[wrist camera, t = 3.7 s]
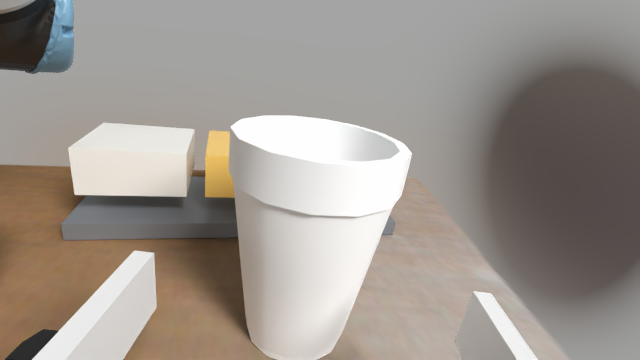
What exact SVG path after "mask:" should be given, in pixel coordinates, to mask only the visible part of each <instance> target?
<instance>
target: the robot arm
mask: <svg viewBox="0 0 640 360" xmlns="http://www.w3.org/2000/svg"><path fill="white" fill-rule="evenodd" d="M73 21H74V12H73V0H0V69H6V70H19V71H25V72H27V73H32V74H34V73H37V72H56V73H59V72H64V71H66V70H68V69H69V68H70V67H71V65H72V62H73V55H74V32H73ZM156 307H157V305H156V284H155V262H154V253H151V252H142V251H134V252H133V253H132V254H131V255H130V256H129V257H128V258H127V259H126V260H125V261H124V262H123V263H122V264H121V265H120V266H119V268H118V269H117V270H116V271H115V272H114V273H113V274H112V275H111V276H110V277H109V278H108V279H107V280H106V281H105V282H104V284H103V285H102V286H101V287H100V288H99V289H98V290H97V291H96V292H95V293H94V294H93V295H92V296H91V297H90V298H89V299H88V301H87V302H86V303H85V304H84V305H83V306H82V307H81V308H80V309H79V310H78V311H77V312H76V313H75V314H74V315H73V317H72V318H71V319H70V320H69V321H68V322H67V323H66V324H65V325H64V326H63V327H62V328H61V329H60V330H59V331H55V330H46V329H43V330H41V331H40V332H38V333H37V334H35V335H33V336H32V337H30V338H28V339H27V340H25V341H24V342H22V343H21V344H20V345H19V346H18V347H17V348H16V349H15V350H14V351H13V352H12V353H11V354H10V355H9V356H8V357H7V358H6V359H5V360H123V359H124V357H125V356H126V354H127V352H128V351H129V349H130V348H131V346H132V345H133V343H134V342H135V340H136V338H137V337H138V335H139V334H140V332H141V331H142V329H143V328H144V326H145V325H146V323H147V321H148V320H149V318H150V317H151V315H152V314H153V312H154V311H155V309H156ZM454 341H455V343H456V346H457V348H458V350H459V352H460V354H461V356H462V359H463V360H538V359H537V358H536V357H535V355H534V354H533V352H532V351H531V349H530V348H529V347H528V345H527V344H526V342H525V341H524V339H523V338H522V337H521V335H520V334H519V332H518V331H517V330H516V328H515V327H514V325H513V324H512V322H511V321H510V320H509V318H508V317H507V315H506V314H505V313H504V311H503V310H502V308H501V307H500V305H499V304H498V303H497V301H496V300H495V298H494V297H493V296H492V294H491V293H483V292H475V291H473V293H472V296H471V299H470V301H469V304H468V306H467V309H466V312H465V314H464V317H463V319H462V322H461V324H460V327H459V330H458V332H457V335H456V337H455V340H454Z"/></svg>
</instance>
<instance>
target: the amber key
mask: <svg viewBox="0 0 640 360" xmlns="http://www.w3.org/2000/svg"><path fill="white" fill-rule="evenodd" d="M229 144H230V132H224V131H211V130H210V131H209V137H208V144H207V150H206V165H205V197H229V198H235V196H234V185H233V179H232V177H231V175H230V173H229V171H228V166H229Z"/></svg>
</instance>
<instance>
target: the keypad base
mask: <svg viewBox="0 0 640 360" xmlns="http://www.w3.org/2000/svg"><path fill="white" fill-rule="evenodd" d="M394 226H395V221H394V220H393V219H392V218H391V217H390V216H389V218H388V220H387V223H386V225H385V228H384V230H383V233H382V235H392V234H393V230H394ZM61 227H62V233H63V240H108V239H165V238H223V237H238V229H237V218H236V207H235V198H229V197H205V177H193V176H191V181H190V185H189V189H188V193H187V197H169V196H109V195H86V196H85V197H84V198H83V200H82V201H81V202H80V203H79V204H78V205H77V206H76V208H75V209H74V210H73V211H72V212H71V213H70V214H69V216H68V217H67V218H66V219H65V220H64V221H63V222H62V224H61Z"/></svg>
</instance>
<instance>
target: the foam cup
mask: <svg viewBox="0 0 640 360" xmlns="http://www.w3.org/2000/svg"><path fill="white" fill-rule="evenodd" d="M411 156H412V153H411V152H410V150H409V149H408V148H407V147H406V146H405V144H404V143H402V142H400V141H398V140H396V139H394V138H392V137H390V136H388V135H385V134H383V133H380V132H377V131H374V130H370V129H367V128H363V127H360V126H357V125H352V124H347V123H342V122H336V121H331V120H326V119H319V118H309V117H300V116H258V117H251V118H245V119H240V120H239V121H238V122H236V123H235V124H234V125H232V126H231V127H230V144H229V166H228V171H229V173H230V175H231V177H232V179H233V185H234V196H235V207H236V218H237V229H238V240H239V251H240V262H241V273H242V283H243V294H244V305H245V316H246V320H247V328H248V331H249V335H250V338H251V342H252V343H253V344H255V345H256V346H257V347H258V348H259V349H260V350H261V351H262V352H263V353H264V354H265V355H266V356H268V357H271V358H274V359H276V360H317V359H319V358H321V357H323V356H325V355H327V354H328V353H330V352H331V351H332V349H333V348H334V346H335V344H336V343H337V341H338V340H339V338H340V335H341V333H342V331H343V329H344V327H345V324H346V322H347V319H348V317H349V314H350V312H351V309H352V307H353V304H354V302H355V299H356V297H357V294H358V292H359V290H360V287H361V285H362V282H363V280H364V277H365V275H366V272H367V270H368V267H369V265H370V262H371V260H372V257H373V255H374V252H375V250H376V247H377V245H378V242H379V240H380V237H381V235H382V233H383V230H384V228H385V225H386V223H387V220H388V218H389V215H390V213H391V210H392V208H393V205H394V204H395V203H396V202H397V200H398V199H399V198H400V197H401V196H402V192H403V188H404V184H405V180H406V176H407V172H408V168H409V164H410V160H411Z"/></svg>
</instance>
